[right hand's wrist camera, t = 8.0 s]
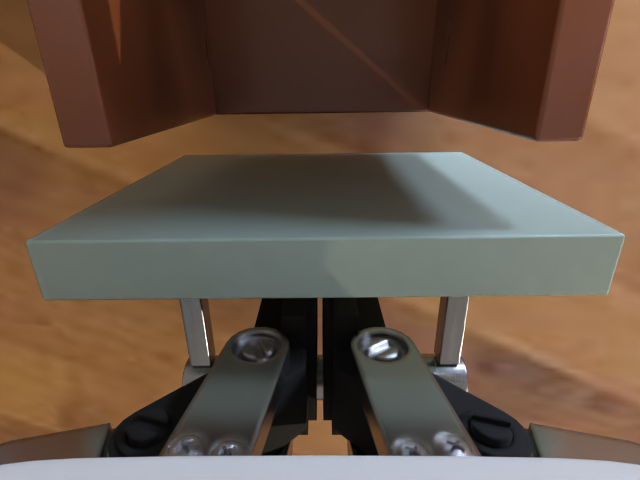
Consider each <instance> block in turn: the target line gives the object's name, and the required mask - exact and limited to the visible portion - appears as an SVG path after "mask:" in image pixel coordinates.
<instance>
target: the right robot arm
mask: <svg viewBox="0 0 640 480" xmlns="http://www.w3.org/2000/svg"><path fill="white" fill-rule="evenodd" d="M308 420H317V298H262V301H261V305H260V309H259V313H258V316H257V320H256V324H255V327H254V328H249V329H246V330H243V331H240V332H238V333H237V334H235V335H234V336H232V337H231V338H230V339H229V340H228V342H227V343H226V344H225V346H224V348H223V349H222V351H221V353H220V354H219V356H218V358H217V359H216V361H215V363H214V364H213V366H212V368H211V369H210V371H209V372H208V373H207V374H205V375H203V376H201V377H199V378H197V379H196V380H194V381H192V382H190V383H188V384H186V385H185V386H183V387H181V388H179V389H177V390H175V391H174V392H172V393H170V394H168V395H166V396H164V397H163V398H161V399H159V400H157V401H155V402H153V403H152V404H150V405H148V406H146V407H144V408H142V409H141V410H139V411H137V412H135V413H133V414H132V415H131V416H129V417H128V418H126V419H125V420H123V421H122V422H121V423H120V424H119V426H118V427H117V428H116V429H112V428H111V425H110V423H108V424H102V425H96V426H91V427H85V428H80V429H74V430H68V431H63V432H57V433H52V434H46V435H40V436H35V437H29V438H24V439H18V440H13V441H9V442H5V443H2V444H0V480H640V444H638V443H635V442H631V441H627V440H622V439H616V438H611V437H605V436H600V435H594V434H588V433H583V432H577V431H572V430H566V429H560V428H555V427H549V426H544V425H538V424H532V423H530V425H529V429H524V428H523V426H522V425H521V424H520V423H519V422H518V421H517V420H515V419H514V418H512V417H511V416H509V415H508V414H507V413H505V412H503V411H501V410H500V409H498V408H496V407H494V406H492V405H490V404H489V403H487V402H485V401H483V400H481V399H479V398H477V397H476V396H474V395H472V394H470V393H468V392H466V391H465V390H463V389H461V388H459V387H457V386H455V385H454V384H452V383H450V382H448V381H446V380H444V379H443V378H441V377H439V376H437V375H435V374H433V373H432V372H431V371H430V369H429V368H428V366H427V364H426V363H425V361H424V359H423V358H422V356H421V354H420V353H419V351H418V349H417V348H416V346H415V344H414V343H413V342H412V340H411V339H410V338H409V337H408V336H406V335H405V334H403V333H402V332H400V331H397V330H394V329H391V328H386V327H385V324H384V320H383V316H382V313H381V309H380V305H379V301H378V298H377V297H345V298H323V420H332V435H342V436H344V437H345V438H346V439H347V449H348V456H324V455H316V456H292V449H293V439H294V438H295V437H296V436H298V435H308Z"/></svg>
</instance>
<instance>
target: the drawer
mask: <svg viewBox="0 0 640 480" xmlns="http://www.w3.org/2000/svg"><path fill="white" fill-rule="evenodd" d="M614 1H615V0H27V2H28V6H29V10H30V14H31V18H32V22H33V26H34V29H35V33H36V37H37V41H38V45H39V49H40V53H41V57H42V61H43V65H44V68H45V72H46V76H47V80H48V84H49V88H50V92H51V96H52V100H53V104H54V107H55V111H56V115H57V119H58V123H59V127H60V131H61V135H62V139H63V143H64V145H65V147H68V148H92V147H112V146H116V145H119V144H122V143H125V142H129V141H132V140H135V139H138V138H142V137H145V136H148V135H151V134H154V133H158V132H161V131H164V130H167V129H171V128H174V127H177V126H180V125H184V124H187V123H190V122H193V121H196V120H200V119H203V118H206V117H209V116H213V115H220V114H293V113H366V112H433V113H436V114H440V115H444V116H447V117H451V118H454V119H458V120H462V121H465V122H469V123H472V124H476V125H479V126H483V127H487V128H490V129H494V130H497V131H501V132H505V133H508V134H512V135H515V136H519V137H523V138H526V139H530V140H533V141H537V142H539V141H577V140H580V139H581V138H582V137H583V133H584V129H585V124H586V120H587V116H588V112H589V107H590V103H591V99H592V95H593V90H594V86H595V82H596V78H597V73H598V69H599V65H600V61H601V56H602V52H603V48H604V43H605V39H606V35H607V31H608V26H609V22H610V18H611V14H612V9H613V5H614ZM624 239H625V235H624V234H622V233H620V232H618V231H616V230H614V229H612V228H610V227H608V226H606V225H604V224H602V223H600V222H598V221H597V220H595V219H593V218H591V217H589V216H587V215H585V214H583V213H581V212H579V211H577V210H575V209H573V208H571V207H569V206H567V205H565V204H563V203H561V202H559V201H557V200H555V199H553V198H551V197H549V196H547V195H545V194H543V193H541V192H539V191H537V190H535V189H533V188H531V187H529V186H527V185H525V184H523V183H521V182H519V181H517V180H515V179H513V178H512V177H510V176H508V175H506V174H504V173H502V172H500V171H498V170H496V169H494V168H492V167H490V166H488V165H486V164H484V163H482V162H480V161H478V160H476V159H474V158H472V157H470V156H468V155H466V154H464V153H462V152H425V153H346V154H267V155H189V156H183V157H181V158H179V159H177V160H175V161H174V162H172V163H170V164H168V165H166V166H164V167H162V168H161V169H159V170H157V171H155V172H153V173H151V174H149V175H148V176H146V177H144V178H142V179H140V180H138V181H136V182H135V183H133V184H131V185H129V186H127V187H125V188H123V189H122V190H120V191H118V192H116V193H114V194H112V195H110V196H109V197H107V198H105V199H103V200H101V201H99V202H97V203H96V204H94V205H92V206H90V207H88V208H86V209H84V210H83V211H81V212H79V213H77V214H75V215H73V216H71V217H70V218H68V219H66V220H64V221H62V222H60V223H58V224H57V225H55V226H53V227H51V228H49V229H47V230H45V231H44V232H42V233H40V234H38V235H36V236H34V237H32V238H31V239H29V240H27V241H26V247H27V250H28V253H29V256H30V259H31V262H32V266H33V269H34V272H35V275H36V278H37V281H38V284H39V287H40V290H41V293H42V296H43V299H44V300H127V299H179V300H180V305H181V311H182V317H183V323H184V329H185V335H186V340H187V346H188V352H189V359H188V360H187V362H186V365H185V368H184V373H183V382H182V387H183V386H185V385H186V384H188V383H190V382H192V381H194V380H196V379H197V378H199V377H201V376H203V375H205V374H207V373H208V372H209V371H210V369H211V368H212V366H213V364H214V363H215V361H216V359H217V358H218V356H219V355H216V356H215V347H214V340H213V333H212V326H211V319H210V312H209V305H208V299H236V298H345V297H440V306H439V314H438V323H437V331H436V339H435V348H434V353H435V354H421V356H422V358H423V359H424V361H425V363H426V364H427V366H428V368H429V369H430V371H431V372H432V373H433V374H435V375H437V376H439V377H441V378H443V379H444V380H446V381H448V382H450V383H452V384H454V385H455V386H457V387H459V388H461V389H463V390H465V391H466V392H468V375H467V369H466V366H465V363H464V360H463V358H462V357H461V350H462V343H463V337H464V330H465V323H466V317H467V310H468V303H469V297H470V296H562V295H607V294H608V292H609V288H610V285H611V282H612V278H613V275H614V272H615V269H616V265H617V262H618V259H619V255H620V252H621V249H622V245H623V242H624ZM317 400H323V355H317Z"/></svg>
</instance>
